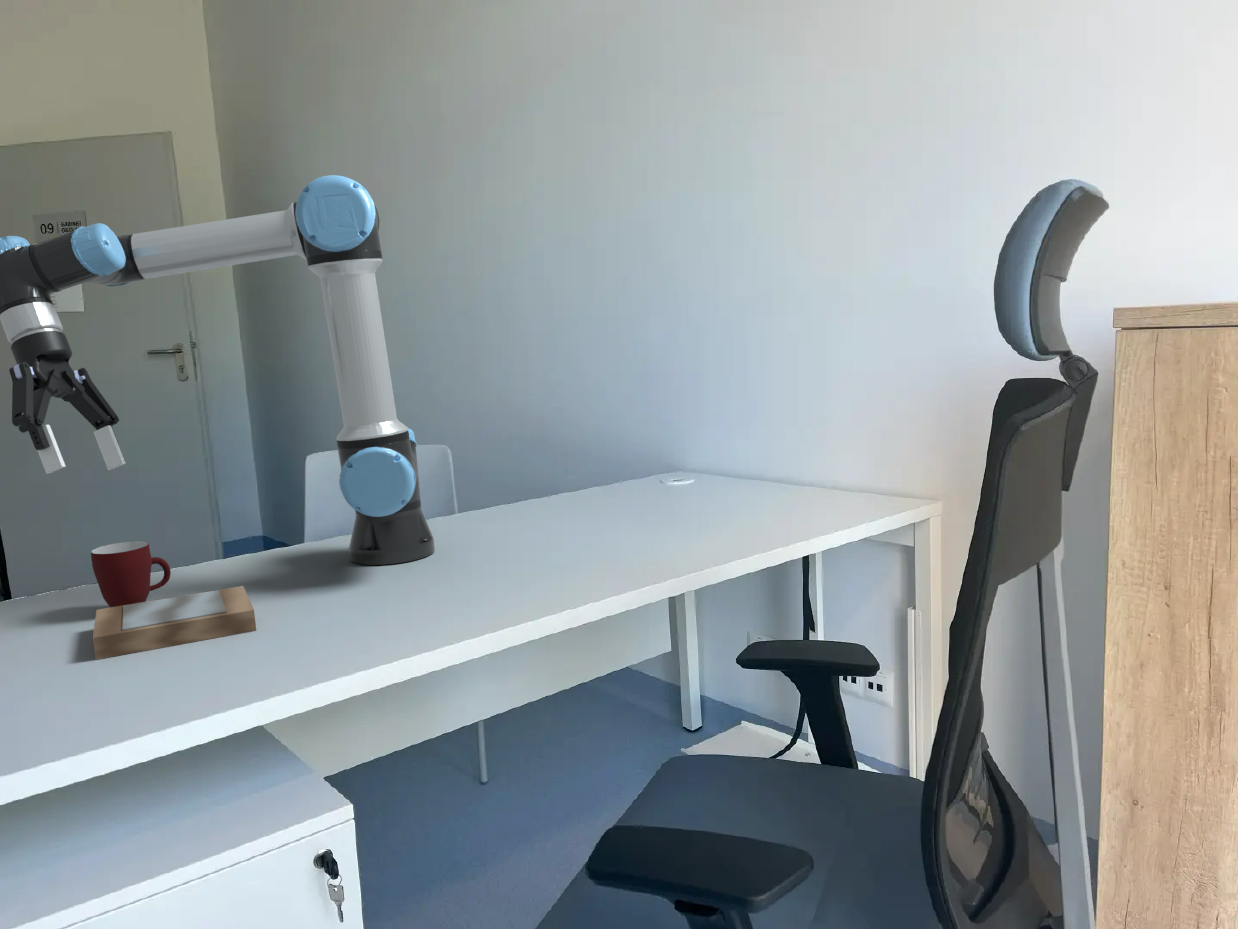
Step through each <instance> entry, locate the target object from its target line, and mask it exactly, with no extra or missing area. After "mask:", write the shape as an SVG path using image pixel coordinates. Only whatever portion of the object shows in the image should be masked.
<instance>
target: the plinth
mask: <svg viewBox="0 0 1238 929" xmlns="http://www.w3.org/2000/svg"><path fill="white" fill-rule="evenodd" d="M255 616H256V615H255V610H254V607H253V605H252V602H251V600H250V598H249V596H248V594H247V591H246V589H245V587H244V585H241V586H234V587H227V588H221V589H215V590H209V591H202V592H198V593H197V592H196V593H193V594H192V593H190V594H186V595H184V594H183V595H178V596H173V597H172V596H171V597H166V598H160V599H154V600H148V601H147V600H146V602H141V603H135V604H129V605H123V606H117V607H105V608H99V609H96V612H95V617H94V618H95V620H94V628H93V634H92V641H93V642H92V643H93V649H94V650H93V651H94V656H95V657H94V658H95V661H97V660H103V659H107V658H108V659H109V658H112V657H113V658H114V657H118V656H123V655H130V654H136V653H141V652H145V651H146V652H147V651H152V650H156V649H157V650H159V649H162V648H167V647H168V648H169V647H174V646H178V645H183V644H190V643H195V642H201V641H205V640H211V639H216V638H222V637H223V638H224V637H226V636H227V637H228V636H233V635H238V634H242V633H243V634H245V633H249V632H250V633H251V632H254V631H255V632H256V631H257V624H256V617H255Z"/></svg>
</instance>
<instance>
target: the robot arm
mask: <svg viewBox="0 0 1238 929" xmlns="http://www.w3.org/2000/svg"><path fill="white" fill-rule="evenodd" d="M379 234H380V215H379V212H378V209H377V207H376V205H375V202H374V200H373V198H372V196H371V195H370V193H369V192H368V190H367V189H366V188H365V187H364V186H363V185H362V184H360V183H359V182H358V181H356V180H354V179H352V178H349V177H347V176H342V175H337V174H333V175H332V174H330V175H323V176H320V177H317V178H315V179H313V180H312V181H309V183H308V184H307V185H306V186H305V187H304V188H303V189H302V190H301V192H300V193H299V196H298V198H297V201H295V202H291V204H290V205H289V207H288V208H287V209H285V210H280V211H273V212H266V213H259V214H254V215H253V214H252V215H247V216H241V217H235V218H227V219H222V220H221V219H220V220H215V221H214V220H213V221H208V222H202V223H196V224H188V225H184V226H176V227H169V228H163V229H157V230H150V231H144V232H138V233H132V234H124V235H118V236H117V235H116V234H115V232H114V231H113V230H112V229H110V227H109V226H108V225H106V224H104V223H102V222H98V223H93V224H90V225H87V226H80V227H77V228H75V230H72V231H69V232H66V233H63V234H60V235H58V236H54V237H52V238H50V239H49V238H48V239H47V240H43V241H41V242H39V243H35V244H30V242H29V241H28V240H27V239H26V238H24V237H22V236H16V235H5V236H2V237H0V322H1V325H2V328H3V330H4V331H3V332H4V333H5V336H6V339H7V342H8V343H10V344H11V345H10V350H11V353H12V356H13V358H14V360H15V363H16V364H15V365H14V366H11V367H10V368H9V370H8V371H9V375H10V378H11V381H12V382H11V383H12V389H11V390H12V392H11V394H12V395H11V398H12V399H11V400H12V403H11V423H12V425H13V426H14V427H18V430H19V432H21V433H22V434H25V433H27V432H28V433H29V436H30V439H31V441H32V444H33V446H34V448H35V449H36V451H37V453H38V456H39V459H40V461H41V464H42V467H43V469H44V471H45V474H46V475H47V474H49V475H50V474H53V473H54V472H57V471H59V470H61V469H63V468H66V467H67V466H66V462H65V461H64V458H63V456H62V453H61V450H60V449H59V446H58V442H57V440H56V438H55V435H54V432H53V430H52V428H51V425H50V424H45V425H43V424H44V423H45V421H46V416H47V412H48V409H49V404H50V401H51V398H52V397H54V398H57V399H61V400H62V401H63V402H66V403H67V402H68V403H69V404H70V405H72V407H74V409H76V410H77V412H79V414H80V415H81V416H82V417H84V419H86V420H87V422H88V423H89V424H90V425H91V426H92V427H93V428H94V429H95V431H93V435H94V437H95V440H96V443H97V445H98V448H99V451H100V453H101V455H102V459H103V461H104V463H105V466H106V469H107V470H108V471H112V470H115V469H117V468H119V467H121V466H124V465H126V464H127V462H126V460H125V459H124V455H123V453H122V451H121V448H120V446H119V442H118V439H117V437H116V435H115V431H114V428H113V426H114V425H117V424H118V422H120V419H119V416H118V415H117V414H116V412H115V411H114V409H113V408H112V407H111V405H110V404H109V403H108V401H107V400H106V399H105V397H104V396H103V395H102V393H101V392H100V390H99V389H98V387H97V386H96V385H95V384H94V382H93V381H92V379H91V377H90V375H89V373H88V371H87V369H86V367H85V368H84V367H81V368H79V369H77V370H76V369H75V370H73V368H72V367H71V366H70V364H69V362H70V359H71V358H72V356H73V352H72V349H71V347H70V344H69V341H68V339H67V335H66V334H65V333H64V332H63V330H64V327H63V325H62V323H61V320H60V317H59V315H58V313H57V310H56V308H55V305H54V303H53V300H52V298H51V295H52V294H55V293H58V292H62V291H64V290H66V289H69V288H72V287H75V286H79V285H81V284H85V283H88V284H89V283H90V284H97V285H103V286H106V287H119V286H120V287H122V286H125V285H128V284H129V283H132V282H138V281H139V282H140V281H143V280H148V279H149V280H150V279H153V278H155V279H156V278H160V277H167V276H173V275H181V274H186V273H192V272H193V273H194V272H200V271H206V270H210V269H211V270H212V269H217V268H218V269H219V268H223V267H224V268H225V267H230V266H237V265H243V264H249V263H254V262H255V263H256V262H261V261H268V260H269V261H270V260H273V259H274V260H275V259H280V258H286V257H292V256H293V257H294V256H299V257H301V258H302V259H304V260H306V261H307V268H308V270H310V271H311V272H312V273H313V274H314V275H316V276H317V277H318V278H319V280H320V287H321V292H322V299H323V305H324V311H325V318H326V323H327V324H326V325H327V329H328V335H329V341H330V348H331V355H332V361H333V366H334V368H333V369H334V374H335V379H336V384H337V391H338V398H339V404H340V410H341V415H342V422H343V428H342V429H341V430H340V432H339V433H338V435H336V438H335V439H336V445H337V452H338V459H339V464H340V474H339V479H338V481H339V488H340V491H341V494H342V495H343V499H344V500H345V501H346V503H347V504H348V505H349V506H350V508H352V509H353V510H355V519H354V525H353V527H352V533H351V538H350V542H349V547H348V552H349V554H348V555H349V561H350V562H352V563H355V564H357V565H358V564H359V565H365V566H366V565H367V566H372V565H373V566H376V565H377V566H378V565H379V566H380V565H394V564H400V563H407V562H412V561H416V560H420V559H423V558H426V557H428V556H430V555H432V554H434V552H435V550H436V549H435V547H436V546H435V539H434V536H433V534H432V531H431V529H430V527H429V525H428V524H429V523H428V521H427V520H426V517H425V516H424V513H423V510H422V502H421V493H420V492H421V491H420V488H421V487H420V479H419V469H418V468H419V467H418V459H417V445H418V444H417V440H416V436H415V432H414V431H413V429H411V428H409V427H408V426H407V425H405V424H404V423H403V422H401V421H399V419H398V416H397V409H396V402H395V396H394V390H393V382H392V376H391V371H390V370H391V369H390V364H389V356H388V349H387V343H386V337H385V331H384V323H383V318H382V311H381V304H380V298H379V291H378V290H379V289H378V285H377V278H376V272H377V270H378V269H379V267H380V266H381V265H382V263H383V254H382V247H381V242H380V240H381V239H380V235H379Z"/></svg>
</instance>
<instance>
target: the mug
mask: <svg viewBox="0 0 1238 929" xmlns="http://www.w3.org/2000/svg"><path fill="white" fill-rule="evenodd" d="M90 558H91V565H92V570H93V573H94V576H95V579H96V583H97V584H98V588H99V592H101V596H102V598H103V600H104V602H105V603H106V604H107V606H108V608H110V607H117V606H123V605H129V604H135V603H141V602H147V599H148V596H149V594H150V592H152V591H155V590H157V589H161V588H163V587H164V586H165V585H166V584H167V583H168V582H169V581H170V579H171V574H172V572H171V568H170V565H169V563H168V562H167V561H166V560H165V559H164V558H161V557H156V556H155V557H154V556H153V557H152V555H151V548H150V543H149V542H147V541H140V540H137V541H136V540H135V541H125V542H118V543H117V542H116V543H110V544H106V545H102V546H99V547H95V548H94V549H91V551H90ZM152 565H158V566H160V567H161V568H162V569H163V577H162V579H161V580H160V581H159V582H158V583H156V584H152V585H151V576H152V575H151V574H152Z"/></svg>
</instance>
